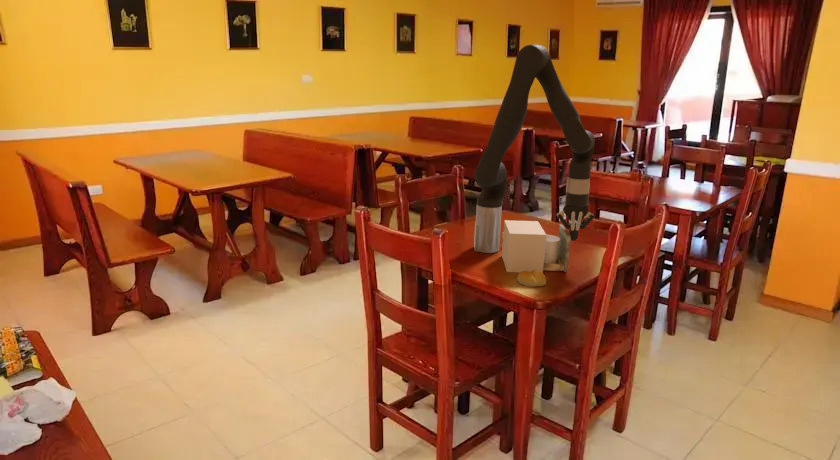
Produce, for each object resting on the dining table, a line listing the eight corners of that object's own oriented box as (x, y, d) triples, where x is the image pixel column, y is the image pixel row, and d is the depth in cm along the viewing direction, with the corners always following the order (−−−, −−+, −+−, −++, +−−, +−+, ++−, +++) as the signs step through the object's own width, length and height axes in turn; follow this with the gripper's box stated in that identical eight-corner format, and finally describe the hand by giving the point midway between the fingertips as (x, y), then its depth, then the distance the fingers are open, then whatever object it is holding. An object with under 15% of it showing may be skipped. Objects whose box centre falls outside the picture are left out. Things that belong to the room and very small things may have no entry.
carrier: (527, 270, 194) (530, 234, 190) (521, 256, 207) (524, 223, 204) (569, 272, 194) (573, 236, 190) (561, 258, 207) (564, 224, 203)
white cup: (558, 270, 196) (561, 242, 193) (534, 268, 198) (537, 240, 195) (557, 262, 204) (559, 235, 201) (534, 260, 205) (537, 233, 202)
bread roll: (514, 278, 188) (514, 267, 187) (540, 278, 189) (541, 266, 188) (521, 288, 180) (522, 276, 179) (549, 287, 181) (550, 275, 180)
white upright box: (506, 271, 193) (509, 233, 189) (501, 255, 209) (504, 220, 205) (542, 273, 193) (546, 234, 189) (534, 257, 209) (538, 221, 205)
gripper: (560, 193, 190) (555, 243, 194) (600, 193, 189) (595, 243, 194) (555, 188, 197) (551, 236, 202) (594, 188, 196) (589, 237, 201)
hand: (573, 240), depth 198 cm, fingers closed
